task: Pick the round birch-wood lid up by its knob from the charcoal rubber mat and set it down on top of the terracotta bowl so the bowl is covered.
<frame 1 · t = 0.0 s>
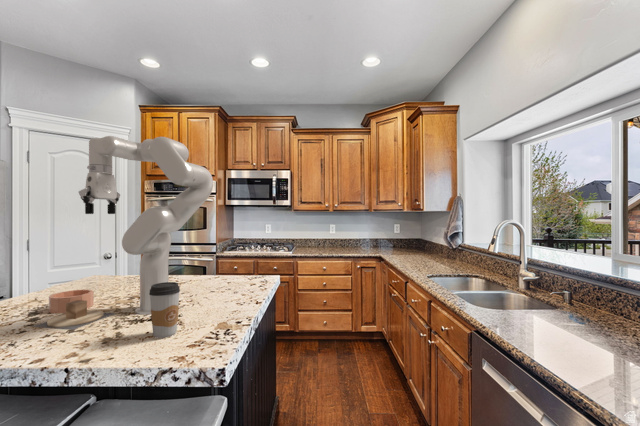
hand: (100, 213, 121), 37 cm above the countertop, tool pointing down, fingers open, 9 cm apart
mat: (76, 321, 105), on the countertop
coffee cup: (165, 335, 93), on the countertop
lid: (76, 319, 105), point 1 cm above the countertop, touching mat
bowl: (71, 309, 118), on the countertop
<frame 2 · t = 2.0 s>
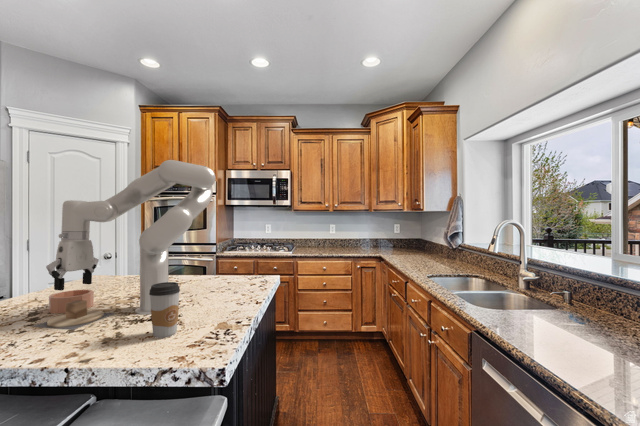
hand: (73, 286, 104), 12 cm above the countertop, tool pointing down, fingers open, 9 cm apart
nothing on the countertop moved.
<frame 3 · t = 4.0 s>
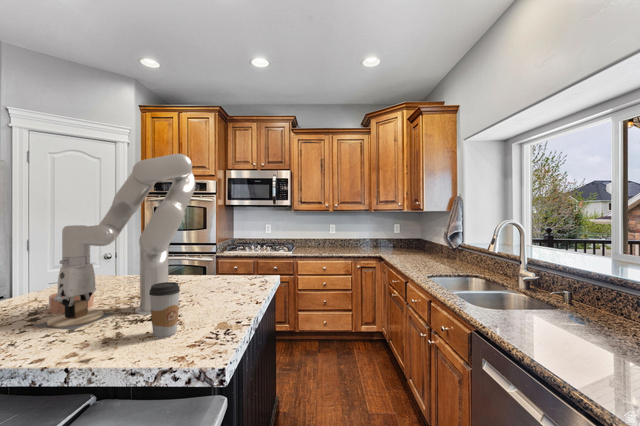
hand: (76, 314, 105), 2 cm above the countertop, tool pointing down, fingers closed on lid, 4 cm apart
lid: (76, 319, 105), point 1 cm above the countertop, touching gripper, mat
everything else where it was.
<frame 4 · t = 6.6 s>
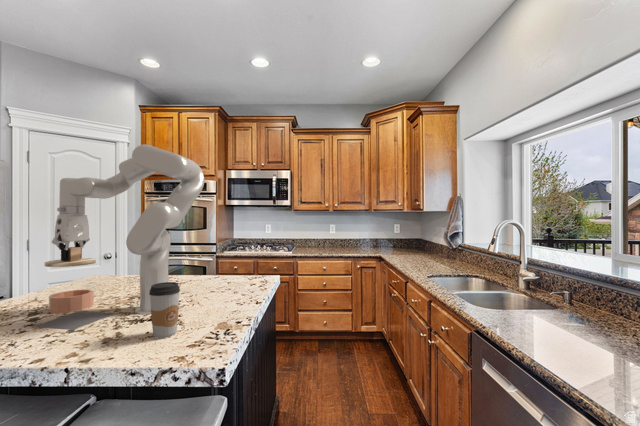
hand: (71, 259, 115), 20 cm above the countertop, tool pointing down, fingers closed on lid, 4 cm apart
lid: (71, 263, 115), point 18 cm above the countertop, touching gripper
everything else where it was.
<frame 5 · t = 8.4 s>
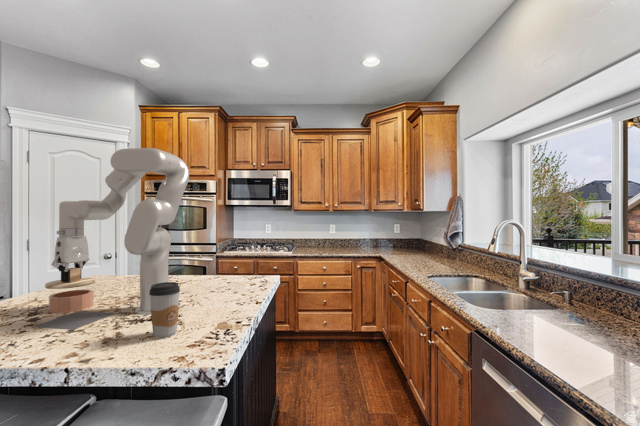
hand: (71, 279, 118), 11 cm above the countertop, tool pointing down, fingers closed on lid, 4 cm apart
lid: (71, 284, 118), point 10 cm above the countertop, touching gripper
everything else where it was.
when the fingers open (9 cm above the countertop, at t = 9.5 s): lid drops 2 cm, resting on bowl.
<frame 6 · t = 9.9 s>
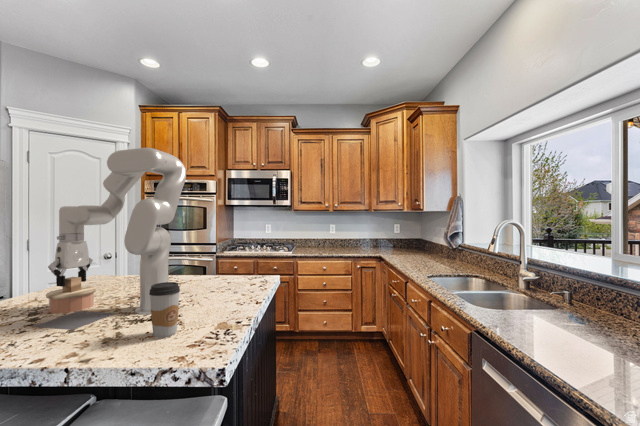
hand: (71, 283, 118), 10 cm above the countertop, tool pointing down, fingers open, 7 cm apart
lid: (72, 293, 118), point 6 cm above the countertop, touching bowl
everything else where it was.
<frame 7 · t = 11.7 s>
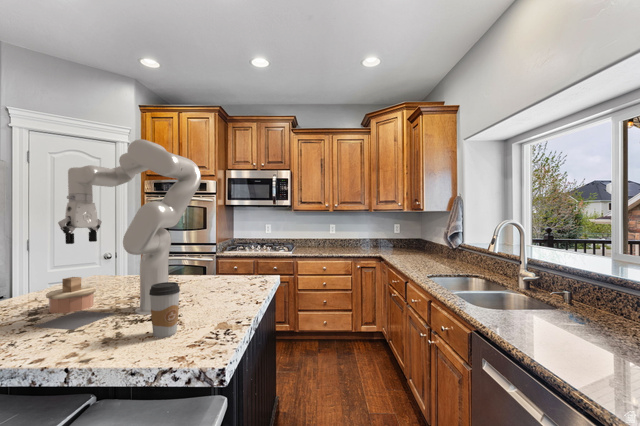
hand: (81, 242, 121), 25 cm above the countertop, tool pointing down, fingers open, 9 cm apart
nothing on the countertop moved.
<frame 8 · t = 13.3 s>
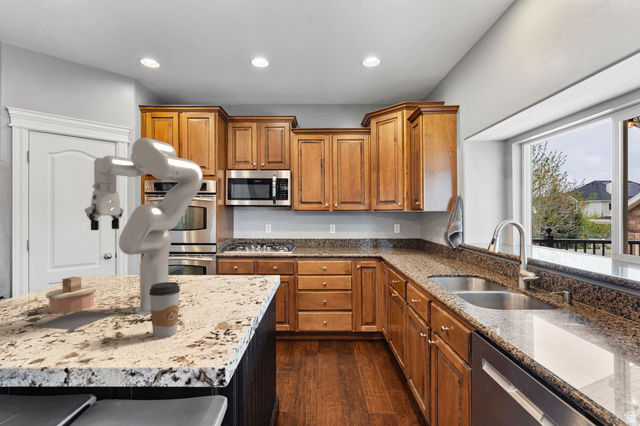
hand: (105, 229, 127), 30 cm above the countertop, tool pointing down, fingers open, 9 cm apart
nothing on the countertop moved.
at the end: lid 0.0 cm off-centre on the bowl, point 6.0 cm above the bowl's base; lid tilted 0°; the gripper is holding nothing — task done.
